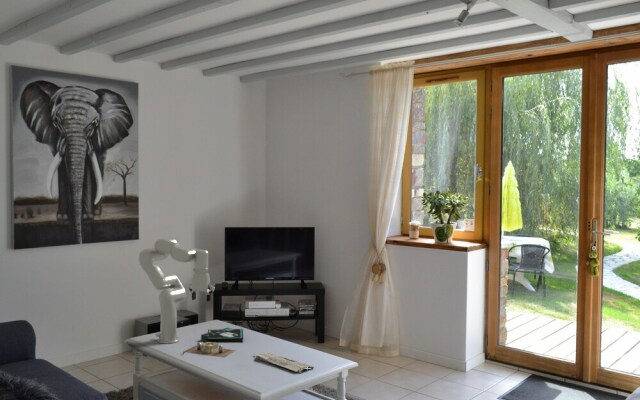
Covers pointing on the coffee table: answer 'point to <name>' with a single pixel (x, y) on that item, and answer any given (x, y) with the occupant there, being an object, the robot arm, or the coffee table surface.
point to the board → (218, 353)
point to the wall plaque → (223, 336)
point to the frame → (209, 347)
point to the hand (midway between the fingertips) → (201, 300)
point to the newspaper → (282, 362)
